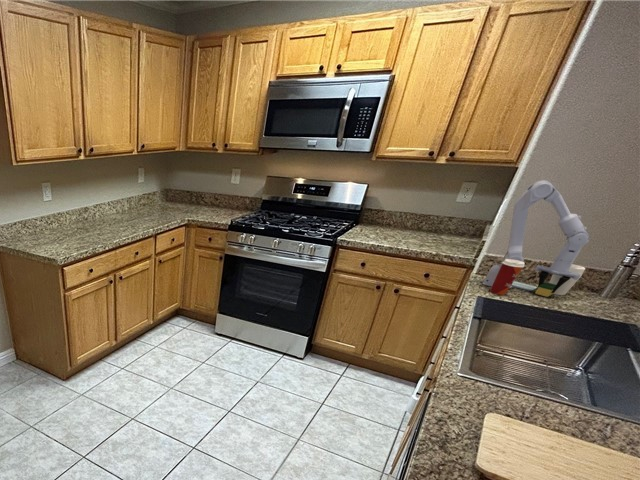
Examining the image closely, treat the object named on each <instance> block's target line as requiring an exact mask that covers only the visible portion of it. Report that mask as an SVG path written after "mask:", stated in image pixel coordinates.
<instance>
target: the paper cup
mask: <svg viewBox="0 0 640 480" xmlns="http://www.w3.org/2000/svg"><path fill="white" fill-rule="evenodd" d="M501 263H503V264H502V266H501V268H500V270H499V272H498V274H497V276H496V279H495V281H494V283H493V285H492V287H491V286H490V287H491V288H490V290H489V292H490V293H492V294H495V295H499V296H505V295H506V294H507V293H508V291H509V290H510V289H511V288H510V286H511V285H512V283H513V282H514V281H516V279H517V277H518V276H519V274H520V273H521V271H522V269H523V268H525V264H526V263H525V261H524V262H522V261H518V260H513V259H505V260H504V259H503V260H502V262H501ZM509 288H510V289H509Z"/></svg>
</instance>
